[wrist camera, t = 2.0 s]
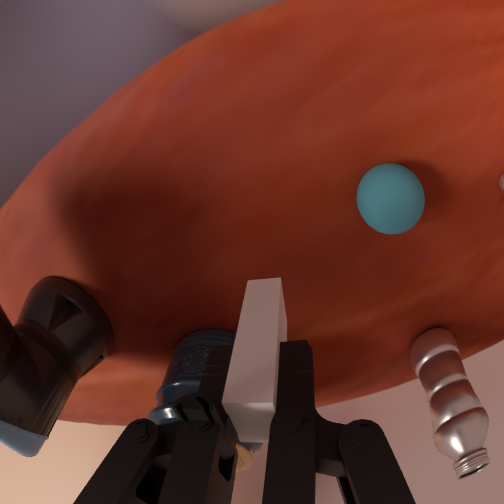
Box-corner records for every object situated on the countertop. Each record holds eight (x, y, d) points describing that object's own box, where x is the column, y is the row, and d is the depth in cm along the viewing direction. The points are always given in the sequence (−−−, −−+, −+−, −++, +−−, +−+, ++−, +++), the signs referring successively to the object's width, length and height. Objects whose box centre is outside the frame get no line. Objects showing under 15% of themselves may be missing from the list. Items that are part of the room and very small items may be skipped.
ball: (351, 221, 28) (366, 250, 22) (347, 159, 25) (364, 175, 20) (409, 215, 27) (433, 243, 21) (408, 155, 24) (437, 171, 19)
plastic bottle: (453, 339, 34) (503, 460, 16) (413, 363, 36) (448, 488, 19) (443, 312, 32) (503, 447, 14) (398, 339, 34) (438, 481, 17)
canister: (258, 321, 35) (239, 463, 19) (277, 386, 40) (269, 500, 25) (160, 329, 37) (108, 445, 22) (193, 389, 43) (165, 490, 27)
